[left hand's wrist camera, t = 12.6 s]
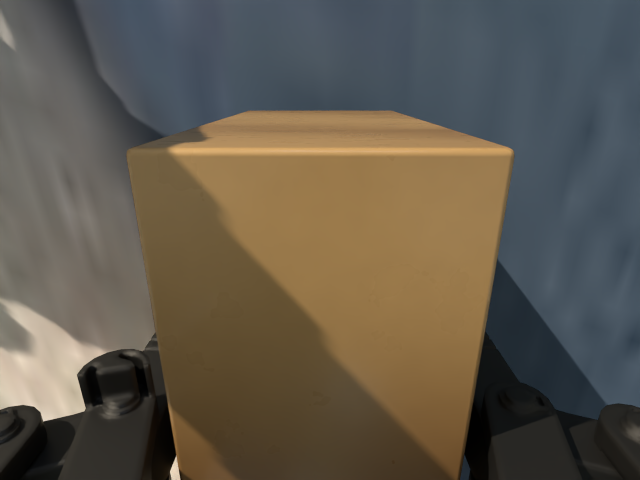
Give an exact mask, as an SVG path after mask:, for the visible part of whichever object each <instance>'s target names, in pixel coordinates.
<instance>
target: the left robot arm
mask: <svg viewBox="0 0 640 480" xmlns="http://www.w3.org/2000/svg"><path fill="white" fill-rule="evenodd" d="M151 339H152V340H151V341H149V343H148V344H147V346H146V347H145V351H139V350H135V349H121V350H117V351H112V352H108V353H106V354H103V355H101V356H99V357H97V358H94V359H93V360H92V361H90V362H89V363H87V364H86V365H85V366H83V368H82V369H81V370H80V372H79V373H78V374H77V377H78V380H79V384H80V388H81V392H82V395H83V399H84V403H85V407H86V409H85V411H84V412H81V413H78V414H74V415H70V416H66V417H61V418H57V419H53V420H48V421H44V422H43V420H42V416H41V413H40V412H39V411H38V410H37V409H36V408H35V407H32V406H26V405H20V406H13V407H8V408H5V409H2V410H0V480H171V475H170V470H171V467H172V465H173V462H174V460H175V457H176V449H175V443H174V437H173V431H172V425H171V419H170V413H169V408H168V402H167V396H166V390H165V384H164V378H163V372H162V366H161V360H160V354H159V348H158V342H157V336H156V332H155V334H154V335H153V337H152V338H151ZM464 454H465V456H466V459H467V462H468V464H469V467H470V475H469V480H640V408H639V407H635V406H633V405H625V404H612V405H607V406H606V407H604V408H603V409H602V410H601V412H600V415H599V418H598V420H595V419H591V418H586V417H582V416H578V415H573V414H569V413H565V412H562V411H558V410H555V409H554V407H553V405H552V404H551V402H550V401H549V399H548V398H547V397H546V396H544V395H543V394H542V393H541V392H539V391H538V390H536V389H534V388H532V387H530V386H528V385H526V384H523V383H520V382H519V381H518V379H517V378H516V376H515V375H514V373H513V372H512V370H511V369H510V367H509V366H508V364H507V363H506V361H505V360H504V358H503V357H502V355H501V354H500V353H499V351H498V350H497V349H496V347H495V345H494V344H493V342H492V341H491V340H489V336H488V335H487V333H486V332H485V334H484V340H483V346H482V352H481V358H480V364H479V369H478V375H477V381H476V387H475V393H474V399H473V405H472V411H471V417H470V423H469V429H468V435H467V441H466V447H465V453H464Z"/></svg>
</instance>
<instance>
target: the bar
mask: <svg viewBox="0 0 640 480" xmlns="http://www.w3.org/2000/svg"><path fill="white" fill-rule="evenodd" d="M126 157H127V163H128V169H129V175H130V181H131V187H132V193H133V199H134V205H135V211H136V217H137V223H138V229H139V235H140V241H141V246H142V252H143V258H144V264H145V270H146V276H147V282H148V288H149V294H150V300H151V306H152V312H153V318H154V324H155V330H156V336H157V342H158V348H159V354H160V360H161V366H162V372H163V378H164V384H165V390H166V396H167V402H168V408H169V413H170V419H171V425H172V431H173V437H174V443H175V449H176V455H177V461H178V467H179V473H180V479H181V480H460V476H461V470H462V464H463V458H464V453H465V447H466V441H467V435H468V429H469V423H470V417H471V411H472V405H473V399H474V393H475V387H476V381H477V375H478V369H479V364H480V358H481V352H482V346H483V340H484V334H485V328H486V322H487V316H488V310H489V304H490V298H491V292H492V286H493V281H494V275H495V269H496V263H497V257H498V251H499V245H500V239H501V233H502V227H503V221H504V215H505V209H506V203H507V198H508V192H509V186H510V180H511V174H512V168H513V162H514V151H513V150H512V149H510V148H508V147H505V146H502V145H499V144H495V143H492V142H489V141H486V140H483V139H480V138H476V137H473V136H470V135H467V134H464V133H460V132H457V131H454V130H451V129H448V128H445V127H441V126H438V125H435V124H432V123H429V122H425V121H422V120H419V119H416V118H413V117H410V116H406V115H403V114H400V113H397V112H394V111H247V112H244V113H241V114H237V115H234V116H231V117H228V118H225V119H221V120H218V121H215V122H212V123H209V124H206V125H202V126H199V127H196V128H193V129H190V130H186V131H183V132H180V133H177V134H174V135H171V136H167V137H164V138H161V139H158V140H155V141H151V142H148V143H145V144H142V145H139V146H136V147H133V148H130V149H128V151H127V156H126Z"/></svg>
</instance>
